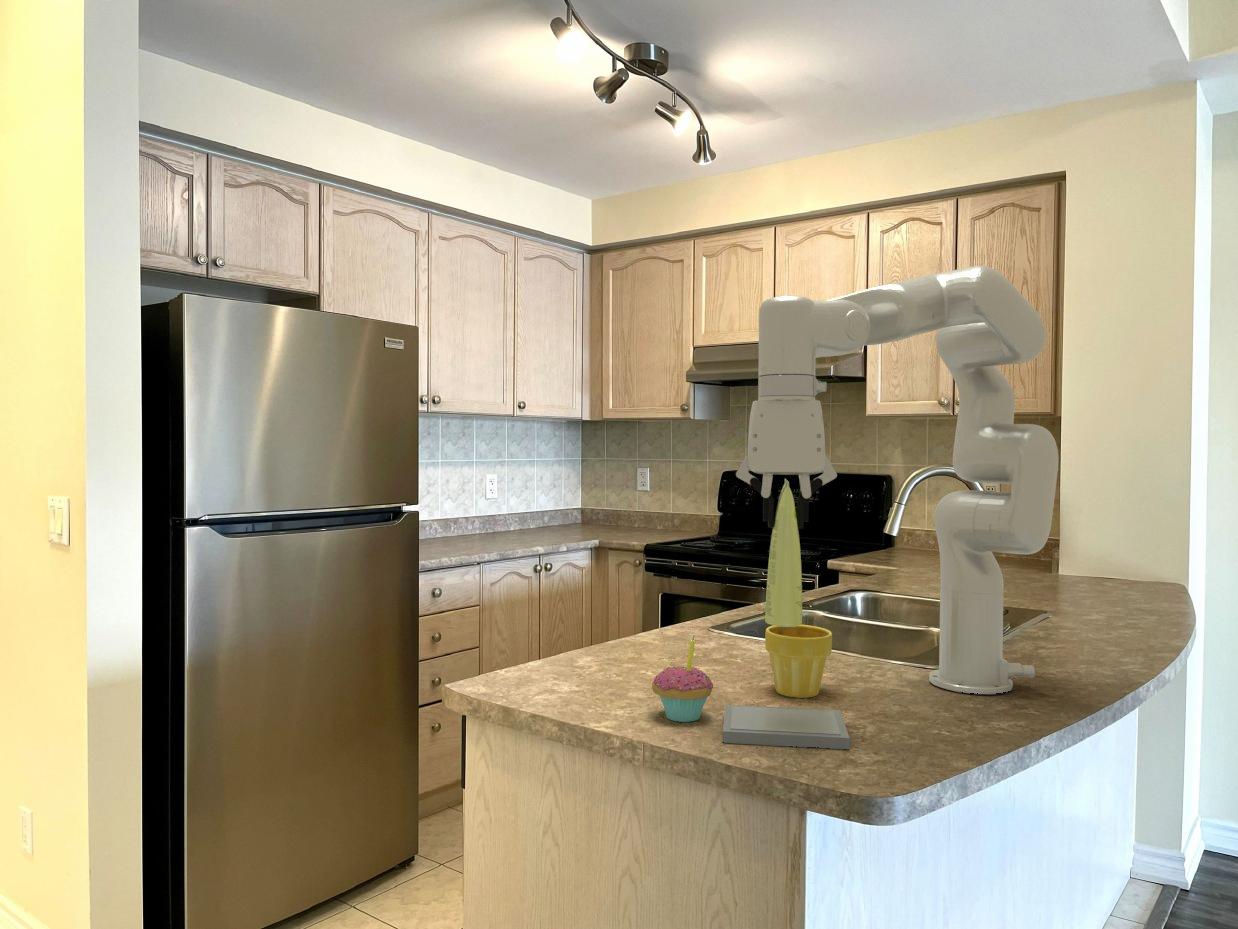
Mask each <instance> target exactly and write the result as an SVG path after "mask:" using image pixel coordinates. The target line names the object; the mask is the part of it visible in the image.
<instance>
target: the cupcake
mask: <svg viewBox="0 0 1238 929" xmlns="http://www.w3.org/2000/svg"><path fill="white" fill-rule="evenodd" d="M695 645H696V641H695V634H693V635H692V638H691V639H690V641H689V648H688V656H687V661H686V662H687V663H686V666H684V665H683V666H679V665H677V666H670V667H669V666H668V667H666V668H665V669H663V670H662V671H660V672H658V674H656V675H655V677H654V679H653V681H652V684H651V690H652V692H653V693H654V694H655V695H658V696H659V699H660V701H661V702H662V705H663V709H664V712H665V716H666V718H667V719H668V720H671V721H674V722H677V721H678V722H677V723H689V722H695V721H698V720H699V719H700V718H701V714H702V711H703V708H704V705H705V703H706V700H707V698H708V697H710V696H711V694H712V691H713V689H714V684H713V683H714V682H712V680H711V678H710V676H708V675H707V674H706V673H705V672H704V671H702V670H701V669H698V668H697V667H694V666H693V659H694V658H693V657H694V651H695Z"/></svg>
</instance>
